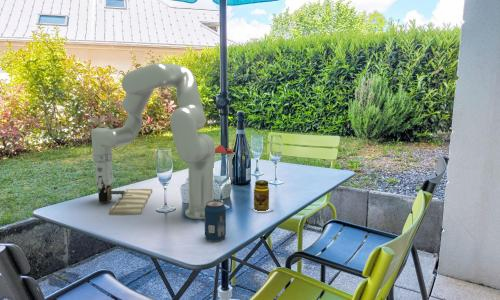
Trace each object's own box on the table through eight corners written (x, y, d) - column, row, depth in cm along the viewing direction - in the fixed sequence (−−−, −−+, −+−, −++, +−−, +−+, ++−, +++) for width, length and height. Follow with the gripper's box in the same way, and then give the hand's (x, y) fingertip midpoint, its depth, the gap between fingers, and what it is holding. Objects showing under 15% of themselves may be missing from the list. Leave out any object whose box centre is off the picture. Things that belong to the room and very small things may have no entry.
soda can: (209, 232, 126) (209, 199, 124) (228, 235, 124) (228, 201, 122) (201, 240, 120) (200, 205, 117) (221, 243, 118) (221, 207, 116)
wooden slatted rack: (140, 213, 143) (140, 210, 143) (109, 214, 142) (108, 210, 142) (152, 191, 173) (152, 188, 172) (126, 192, 171) (125, 189, 171)
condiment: (257, 213, 145) (257, 184, 143) (248, 207, 153) (248, 179, 151) (273, 211, 148) (274, 182, 146) (263, 205, 156) (264, 177, 154)
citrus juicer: (198, 180, 193) (198, 143, 189) (230, 178, 199) (230, 141, 195) (205, 188, 179) (205, 148, 175) (239, 185, 184) (239, 146, 181)
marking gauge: (123, 202, 155) (122, 188, 154) (98, 202, 154) (98, 188, 153) (126, 198, 160) (125, 185, 159) (102, 198, 159) (101, 185, 158)
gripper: (106, 161, 145) (109, 205, 148) (117, 153, 162) (119, 193, 165) (86, 162, 144) (89, 206, 148) (99, 153, 161) (102, 193, 164)
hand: (105, 199), depth 156 cm, fingers closed on marking gauge, 5 cm apart
